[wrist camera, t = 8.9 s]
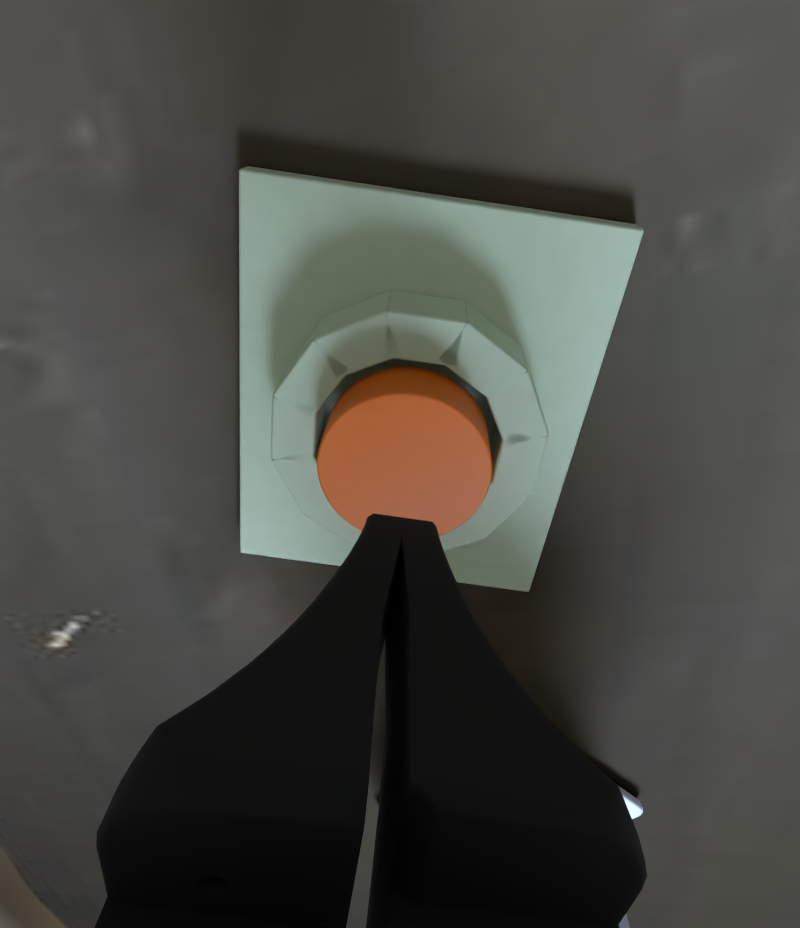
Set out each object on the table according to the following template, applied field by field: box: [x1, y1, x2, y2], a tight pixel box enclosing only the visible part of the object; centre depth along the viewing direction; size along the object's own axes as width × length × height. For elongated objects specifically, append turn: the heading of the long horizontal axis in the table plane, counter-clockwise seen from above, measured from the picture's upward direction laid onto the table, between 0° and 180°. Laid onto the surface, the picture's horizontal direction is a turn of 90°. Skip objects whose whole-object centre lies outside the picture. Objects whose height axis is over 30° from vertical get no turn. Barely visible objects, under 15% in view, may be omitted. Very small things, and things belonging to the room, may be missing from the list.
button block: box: [239, 166, 644, 592], centre depth 18 cm, size 12×10×2 cm
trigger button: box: [317, 367, 492, 536], centre depth 16 cm, size 4×4×2 cm
